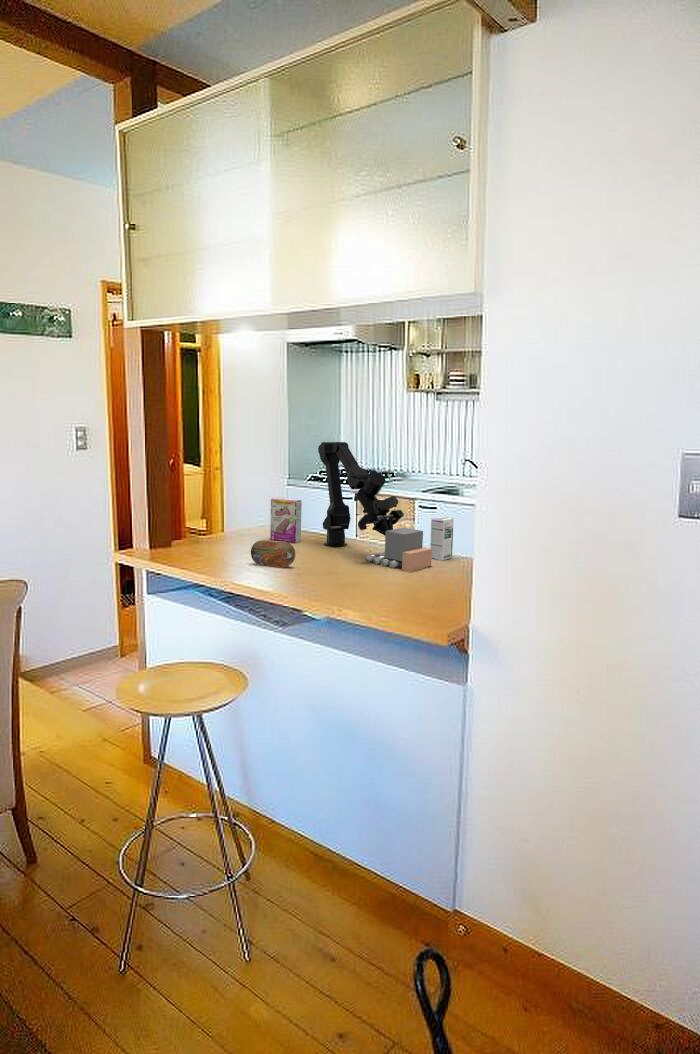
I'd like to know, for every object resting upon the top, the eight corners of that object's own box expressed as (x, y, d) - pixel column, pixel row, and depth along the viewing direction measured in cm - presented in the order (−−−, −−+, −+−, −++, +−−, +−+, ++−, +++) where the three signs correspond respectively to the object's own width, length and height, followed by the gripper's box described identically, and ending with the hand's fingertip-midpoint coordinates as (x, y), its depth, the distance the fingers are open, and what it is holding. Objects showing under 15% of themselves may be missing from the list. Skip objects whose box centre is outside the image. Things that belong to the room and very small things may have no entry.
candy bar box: (269, 540, 272) (270, 498, 269) (275, 538, 276) (276, 497, 273) (295, 543, 268) (296, 500, 265) (301, 541, 272) (302, 499, 269)
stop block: (401, 570, 229) (402, 552, 228) (423, 564, 238) (424, 547, 237) (409, 571, 227) (410, 553, 226) (431, 566, 236) (432, 548, 235)
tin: (250, 564, 231) (250, 539, 230) (254, 562, 234) (254, 537, 233) (292, 569, 227) (293, 543, 226) (296, 566, 230) (296, 541, 229)
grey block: (384, 557, 235) (385, 530, 233) (403, 553, 242) (404, 527, 241) (403, 561, 230) (404, 534, 228) (421, 557, 237) (423, 530, 235)
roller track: (364, 561, 240) (365, 555, 239) (387, 556, 248) (387, 550, 248) (394, 568, 231) (394, 561, 231) (416, 563, 240) (416, 556, 239)
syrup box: (442, 560, 245) (445, 519, 242) (429, 558, 249) (431, 517, 246) (452, 558, 249) (454, 518, 246) (438, 555, 253) (440, 515, 250)
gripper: (365, 490, 232) (390, 527, 226) (400, 486, 245) (424, 522, 240) (347, 511, 238) (370, 548, 233) (382, 506, 252) (405, 541, 246)
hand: (393, 539), depth 238 cm, fingers closed, pressing on grey block
